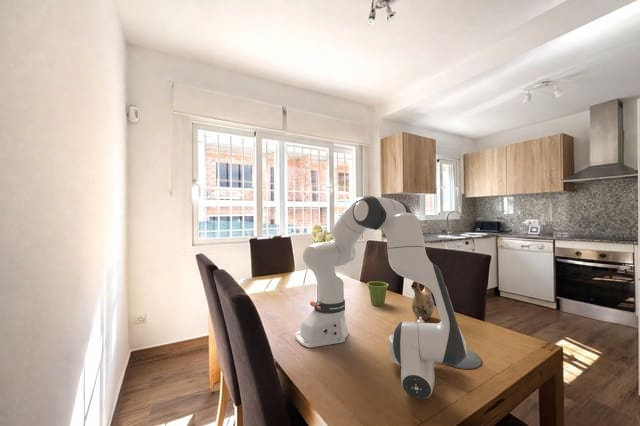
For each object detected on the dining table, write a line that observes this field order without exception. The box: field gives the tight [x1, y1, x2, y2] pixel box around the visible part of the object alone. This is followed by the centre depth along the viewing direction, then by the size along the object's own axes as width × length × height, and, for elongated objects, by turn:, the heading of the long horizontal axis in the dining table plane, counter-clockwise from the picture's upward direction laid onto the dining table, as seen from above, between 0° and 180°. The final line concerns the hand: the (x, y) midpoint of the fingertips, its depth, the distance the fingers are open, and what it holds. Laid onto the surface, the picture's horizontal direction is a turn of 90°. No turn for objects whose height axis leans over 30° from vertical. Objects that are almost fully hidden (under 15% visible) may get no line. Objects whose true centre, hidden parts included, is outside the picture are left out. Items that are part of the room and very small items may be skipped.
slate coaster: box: [445, 347, 482, 370], centre depth 91 cm, size 15×15×1 cm
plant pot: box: [366, 281, 389, 307], centre depth 147 cm, size 12×12×11 cm
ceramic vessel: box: [410, 281, 435, 321], centre depth 125 cm, size 16×9×25 cm, turn 127°
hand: (420, 337), depth 94 cm, fingers open, 8 cm apart
